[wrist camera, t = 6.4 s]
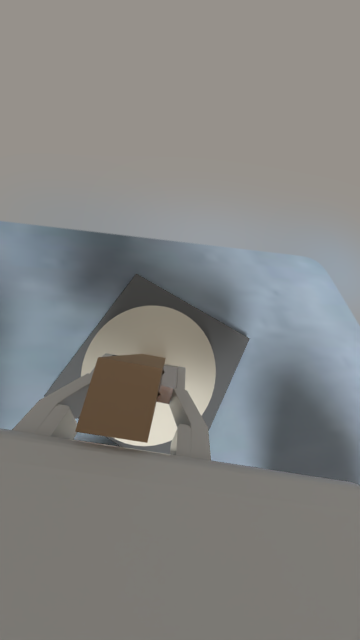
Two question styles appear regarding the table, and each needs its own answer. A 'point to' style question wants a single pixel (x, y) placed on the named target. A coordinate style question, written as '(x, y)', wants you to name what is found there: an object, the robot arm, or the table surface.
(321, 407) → the table surface
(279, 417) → the table surface
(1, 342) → the table surface
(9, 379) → the table surface
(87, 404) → the lid
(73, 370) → the mat
